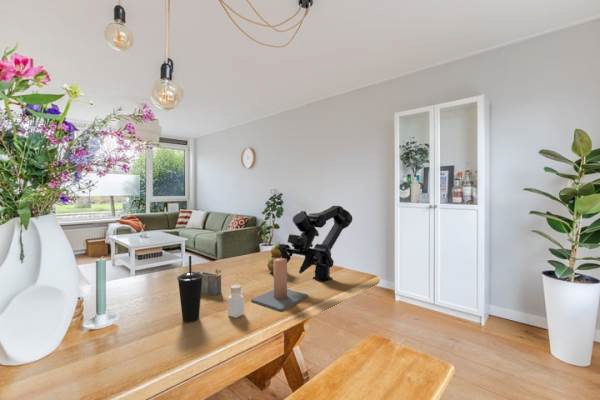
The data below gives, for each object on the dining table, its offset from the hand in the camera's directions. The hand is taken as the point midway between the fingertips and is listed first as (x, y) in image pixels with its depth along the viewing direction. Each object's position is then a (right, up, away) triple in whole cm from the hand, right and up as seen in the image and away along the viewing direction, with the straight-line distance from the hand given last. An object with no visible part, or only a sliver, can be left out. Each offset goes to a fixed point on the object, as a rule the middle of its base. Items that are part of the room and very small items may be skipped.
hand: (290, 270), depth 110 cm
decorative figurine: (-8, -8, +29) cm, 31 cm away
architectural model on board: (-33, -10, +3) cm, 34 cm away
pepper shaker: (-17, -10, -18) cm, 27 cm away
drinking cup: (-31, -10, -21) cm, 38 cm away
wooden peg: (-3, -9, -5) cm, 10 cm away
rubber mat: (-4, -9, -5) cm, 11 cm away
